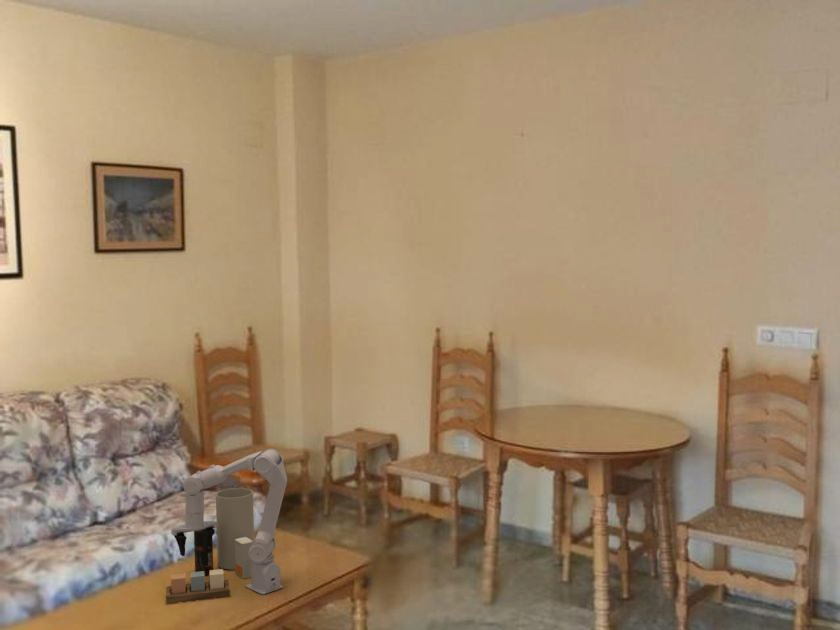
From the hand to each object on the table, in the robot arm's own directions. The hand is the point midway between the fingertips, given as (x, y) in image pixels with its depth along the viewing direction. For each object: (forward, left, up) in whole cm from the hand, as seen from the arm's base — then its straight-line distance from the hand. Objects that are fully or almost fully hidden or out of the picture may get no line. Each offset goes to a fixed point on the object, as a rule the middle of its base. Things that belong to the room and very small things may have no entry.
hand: (193, 552), depth 266 cm
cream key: (-11, -1, -9) cm, 14 cm away
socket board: (-8, +4, -11) cm, 14 cm away
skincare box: (-5, -16, -11) cm, 20 cm away
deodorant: (+7, -8, -11) cm, 15 cm away
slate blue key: (-8, +4, -8) cm, 12 cm away
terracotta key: (-5, +9, -9) cm, 13 cm away
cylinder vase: (+6, -20, -11) cm, 23 cm away
